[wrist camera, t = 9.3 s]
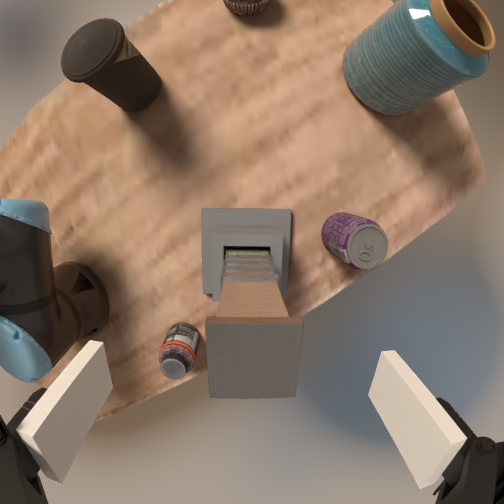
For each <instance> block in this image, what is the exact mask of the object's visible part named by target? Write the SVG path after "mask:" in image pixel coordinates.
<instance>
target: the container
mask: <svg viewBox="0 0 504 504" xmlns="http://www.w3.org/2000/svg"><path fill="white" fill-rule="evenodd" d="M61 67H62V71H63V73H64V75H65V76H66V77H67V78H68V79H69V80H70V81H73V82H77V83H81V82H84V83H85V84H87V85H89V86H90V87H92V88H93V89H95V90H96V91H98V92H99V93H101V94H102V95H104V96H105V97H107V98H108V99H110V100H111V101H112V102H114V103H115V104H116V105H118V106H119V107H121V108H122V109H124V110H126V111H138V110H141V109H143V108H145V107H147V106H148V105H150V104H151V103H152V102H153V100H154V99H155V98H156V96H157V95H158V93H159V90H160V84H161V82H160V77H159V75H158V74H157V72H156V71H155V70H154V68H153V67H152V66H151V65H150V64H149V63H148V62H147V60H146V59H145V58H144V57H143V56H142V55H141V53H140V52H139V51H138V50H137V49H136V48H135V47H134V45H133V44H132V43H131V42H130V41H129V40H128V39H127V37H126V36H125V33H124V29H123V27H122V26H121V24H120V23H118V22H117V21H115V20H113V19H107V18H105V19H98V20H94V21H92V22H90V23H87V24H86V25H84V26H82V27H81V28H80V29H79V30H77V31H76V32H75V33H74V34H73V35H72V36H71V38H70V39H69V40H68V42H67V43H66V45H65V47H64V50H63V53H62V57H61Z"/></svg>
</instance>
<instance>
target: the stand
mask: <svg viewBox="0 0 504 504" xmlns="http://www.w3.org/2000/svg"><path fill="white" fill-rule="evenodd" d="M290 226H291V210H290V209H255V208H202V275H203V294H212V301H220V296H221V283H220V275H221V273H222V266H224V260H225V255H226V250H229V249H264V250H265V251H269V255H270V256H271V260H272V261H273V266H275V268H276V271H275V274H278V275H279V281H278V288H279V291H280V293H281V294H287V287H288V269H289V250H290Z"/></svg>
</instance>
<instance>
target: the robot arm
mask: <svg viewBox="0 0 504 504" xmlns="http://www.w3.org/2000/svg"><path fill="white" fill-rule="evenodd" d="M51 234H52V232H51V230H50V222H49V211H48V208H47V206H46V205H45V204H44V203H43V202H40V201H34V200H21V199H0V366H2V367H3V369H4V370H5V371H7V372H8V373H9V374H10V375H12V376H13V377H15V378H17V379H19V380H21V381H23V382H28V383H33V382H37V381H39V380H40V379H41V378H42V377H43V376H44V375H46V374H47V373H49V372H50V371H51V370H52V368H53V367H54V366H55V365H56V364H57V363H58V361H59V360H60V359H61V358H62V357H63V356H64V355H65V353H66V352H67V351H68V350H69V349H70V348H71V347H72V346H73V344H74V343H75V342H77V341H80V340H83V339H86V338H89V337H92V336H94V335H95V334H96V333H98V332H99V331H100V330H101V328H102V327H103V326H104V325H105V323H106V321H107V319H108V315H109V301H108V297H107V294H106V291H105V289H104V287H103V285H102V283H101V281H100V280H99V279H98V277H97V276H96V275H95V274H94V273H93V272H92V271H91V270H90V269H88V268H87V267H85V266H83V265H81V264H79V263H75V262H66V263H62V264H60V265H58V266H56V267H54V268H53V262H52V250H51ZM112 389H113V384H112V380H111V376H110V372H109V367H108V363H107V358H106V353H105V348H104V342H98V341H92V340H90V341H89V342H88V343H87V344H86V345H85V346H84V347H83V349H82V350H81V351H80V352H79V353H78V354H77V355H76V357H75V358H74V359H73V360H72V361H71V362H70V363H69V365H68V366H67V367H66V368H65V369H64V370H63V372H62V373H61V374H60V375H59V376H58V378H57V379H56V380H55V381H54V382H53V384H52V385H51V386H50V387H49V388H48V389H46V388H43V387H42V388H41V389H39V390H37V391H36V392H34V393H33V394H32V395H31V397H30V398H29V399H28V401H27V402H25V404H24V405H23V407H21V408H20V410H19V411H18V412H17V413H16V414H15V416H14V417H13V418H12V419H11V421H10V422H9V423H8V424H7V426H6V424H5V422H4V421H3V419H2V417H1V415H0V504H48V501H47V498H46V495H45V492H44V489H43V486H42V483H41V480H40V478H39V476H38V474H37V473H38V471H39V470H40V469H41V470H42V471H43V473H44V474H45V476H46V477H48V478H50V479H52V480H55V481H57V482H60V483H63V481H64V479H65V477H66V475H67V473H68V471H69V469H70V467H71V465H72V463H73V461H74V459H75V457H76V455H77V453H78V451H79V449H80V447H81V446H82V444H83V442H84V440H85V438H86V436H87V434H88V432H89V431H90V429H91V427H92V425H93V423H94V421H95V419H96V418H97V416H98V414H99V412H100V410H101V409H102V407H103V405H104V403H105V401H106V400H107V398H108V396H109V394H110V393H111V391H112ZM368 396H369V397H370V399H371V401H372V403H373V405H374V406H375V408H376V410H377V412H378V413H379V415H380V417H381V419H382V420H383V422H384V424H385V426H386V428H387V429H388V431H389V433H390V435H391V437H392V438H393V440H394V442H395V444H396V446H397V448H398V449H399V451H400V453H401V455H402V457H403V458H404V460H405V462H406V464H407V466H408V468H409V470H410V472H411V473H412V475H413V477H414V479H415V481H416V483H417V485H418V487H419V489H421V488H424V487H426V486H429V485H431V484H434V483H435V482H436V481H437V480H438V478H439V477H440V476H441V475H442V476H443V477H444V481H443V482H442V483H441V484H440V486H439V487H438V488H437V489H436V490H435V492H434V493H433V495H435V494H436V493H437V492H438V491H439V490H440V491H439V494H438V498H437V500H436V504H504V442H498V443H495V442H494V441H493V440H492V439H490V438H487V437H477V436H476V435H475V434H474V433H473V431H472V430H471V429H470V428H469V427H468V425H467V424H466V423H465V422H464V421H463V419H462V418H461V417H459V415H458V413H457V412H455V410H454V409H453V407H451V405H450V404H449V403H448V402H446V401H445V400H443V399H441V398H436V399H435V397H434V396H433V395H432V394H431V393H430V392H429V390H428V389H427V388H426V387H425V385H424V384H423V383H422V382H421V381H420V380H419V378H418V377H417V376H416V375H415V374H414V373H413V371H412V370H411V369H410V368H409V367H408V366H407V364H406V363H405V362H404V361H403V360H402V359H401V357H400V356H399V355H398V354H397V353H396V352H395V350H393V351H383V352H381V355H380V359H379V362H378V365H377V369H376V372H375V375H374V379H373V382H372V385H371V388H370V391H369V394H368Z"/></svg>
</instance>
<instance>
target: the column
mask: <svg viewBox="0 0 504 504" xmlns="http://www.w3.org/2000/svg"><path fill="white" fill-rule="evenodd" d="M275 271H276V268H275V266H273V261H272V260H271V256H270V255H269V251H265V250H264V249H229V250H226V255H225V260H224V266H222V273H221V275H220V283H221V296H220V302H219V307H218V313H217V317H213V316H207V318H206V322H205V331H206V350H207V366H208V381H209V394H210V398H243V399H245V398H246V399H248V398H287V397H295V393H296V385H297V378H298V369H299V362H300V353H301V344H302V333H303V321H302V320H301V317H289V315H288V313H287V310H286V307H285V304H284V302H283V299H282V296H281V293H280V291H279V288H278V281H279V275H278V274H275Z"/></svg>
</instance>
